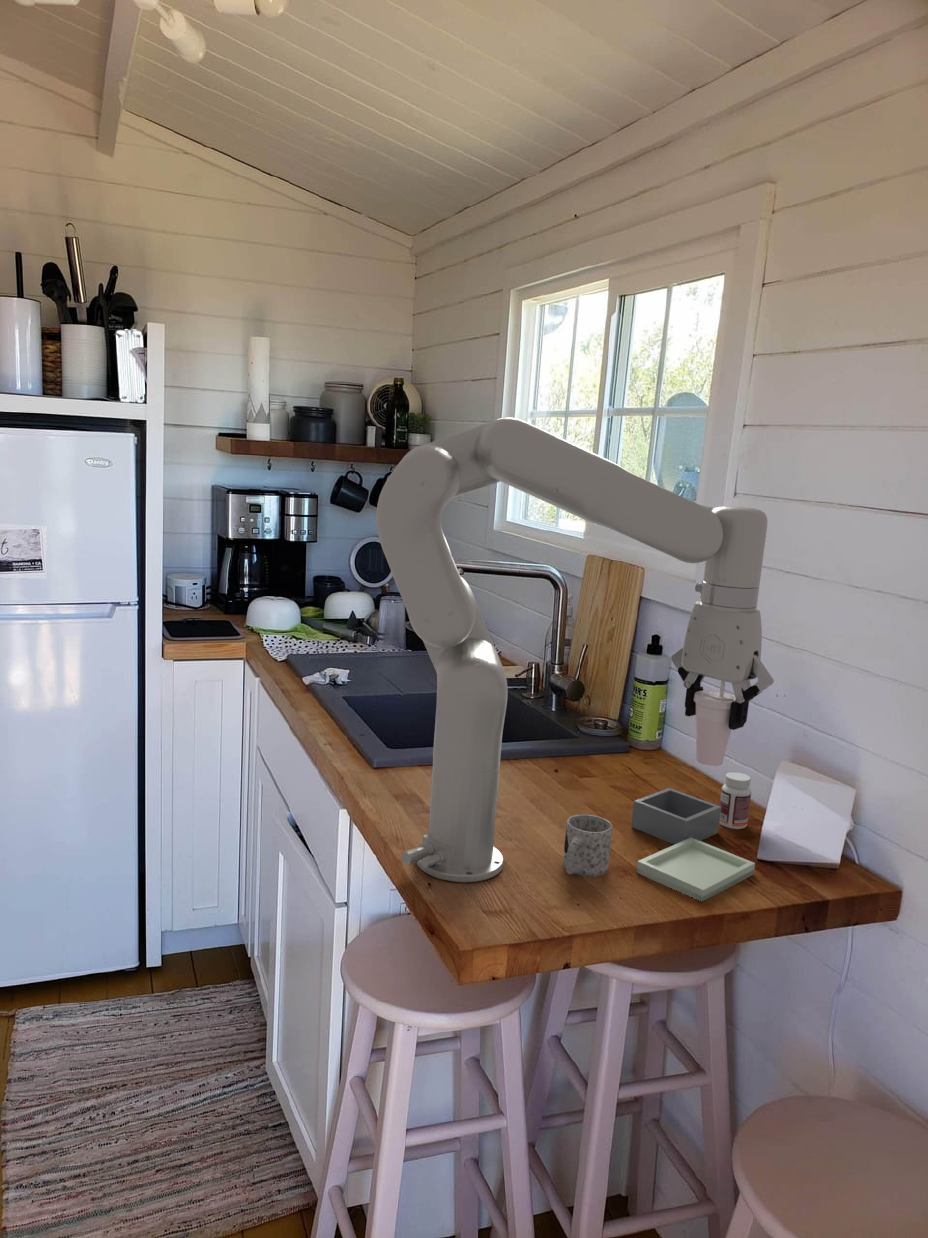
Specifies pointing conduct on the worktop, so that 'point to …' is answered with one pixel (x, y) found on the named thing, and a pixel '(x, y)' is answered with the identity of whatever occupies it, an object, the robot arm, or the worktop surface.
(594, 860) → the mug
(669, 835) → the grey square tube frame
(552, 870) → the worktop surface
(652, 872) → the tray
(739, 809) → the pill bottle
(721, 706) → the smoothie
